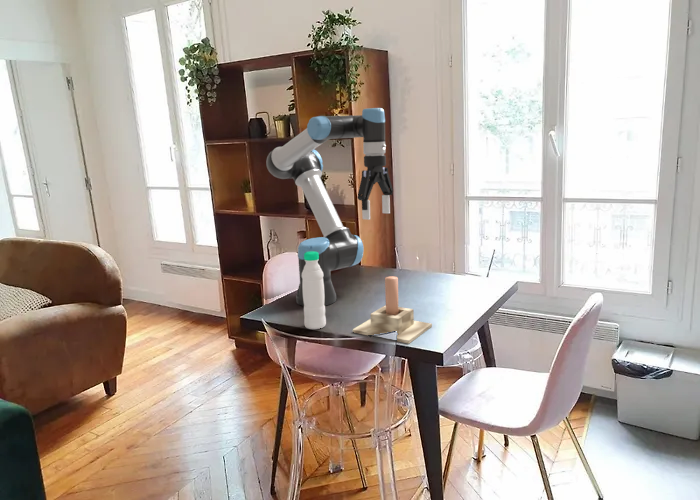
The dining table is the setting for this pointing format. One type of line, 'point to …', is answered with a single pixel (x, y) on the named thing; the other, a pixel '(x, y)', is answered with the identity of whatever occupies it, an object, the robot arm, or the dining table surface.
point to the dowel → (391, 295)
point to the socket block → (394, 324)
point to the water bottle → (313, 292)
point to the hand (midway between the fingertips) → (376, 216)
